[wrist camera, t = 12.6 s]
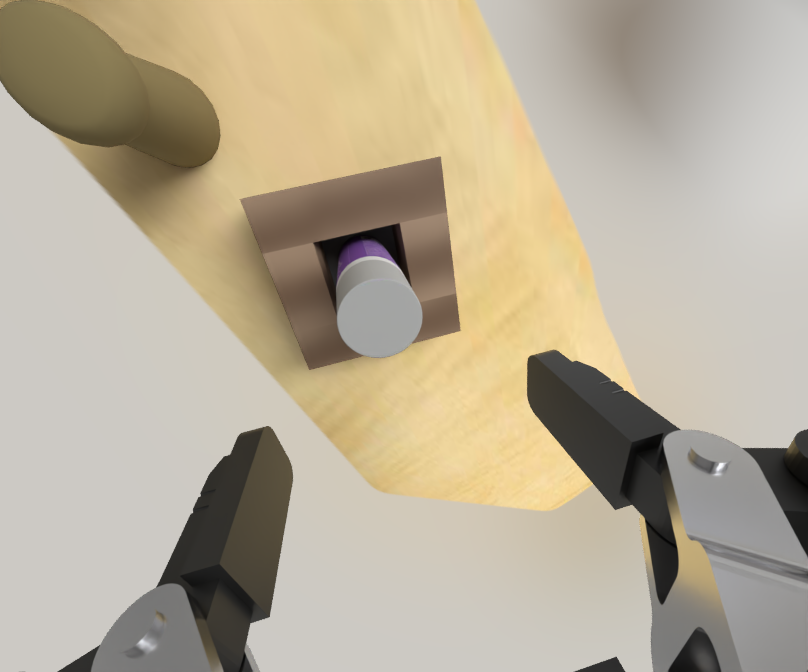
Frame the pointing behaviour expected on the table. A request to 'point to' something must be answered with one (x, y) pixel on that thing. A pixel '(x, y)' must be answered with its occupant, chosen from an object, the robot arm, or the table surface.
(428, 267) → the well block
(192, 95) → the cork
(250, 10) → the table surface
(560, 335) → the table surface
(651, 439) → the robot arm
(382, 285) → the container
